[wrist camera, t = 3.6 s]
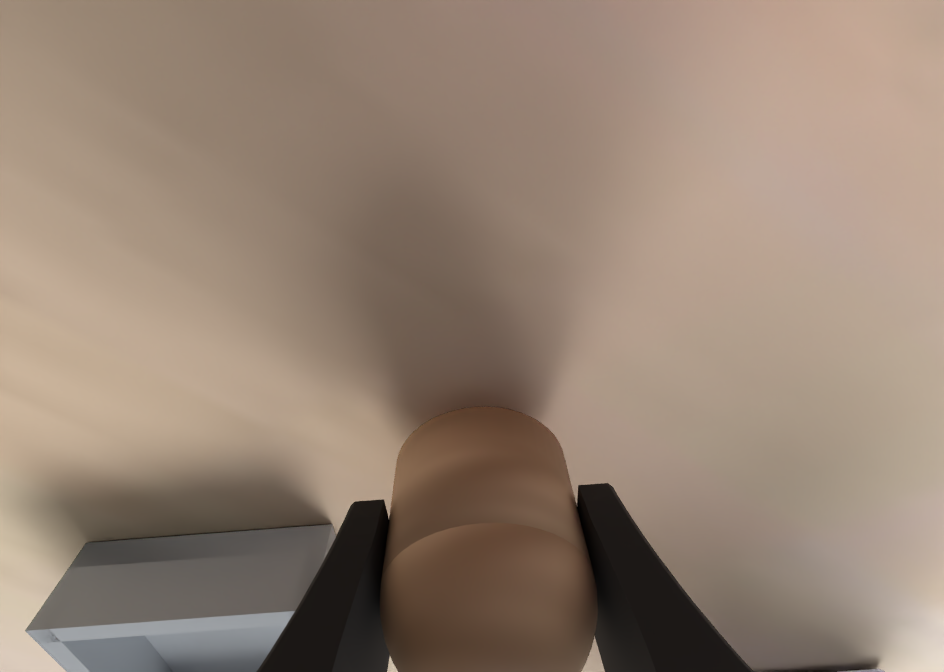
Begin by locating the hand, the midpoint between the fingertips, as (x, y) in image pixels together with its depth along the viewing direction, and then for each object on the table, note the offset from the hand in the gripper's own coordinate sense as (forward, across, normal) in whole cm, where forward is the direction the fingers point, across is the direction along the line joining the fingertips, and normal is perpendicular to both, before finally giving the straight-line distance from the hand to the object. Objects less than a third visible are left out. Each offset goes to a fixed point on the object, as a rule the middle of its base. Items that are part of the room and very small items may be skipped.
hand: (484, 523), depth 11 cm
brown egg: (+2, 0, 0) cm, 2 cm away
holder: (+3, +8, +10) cm, 13 cm away
